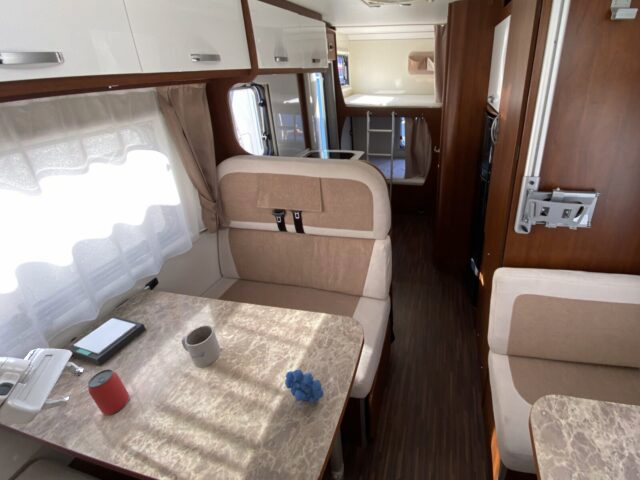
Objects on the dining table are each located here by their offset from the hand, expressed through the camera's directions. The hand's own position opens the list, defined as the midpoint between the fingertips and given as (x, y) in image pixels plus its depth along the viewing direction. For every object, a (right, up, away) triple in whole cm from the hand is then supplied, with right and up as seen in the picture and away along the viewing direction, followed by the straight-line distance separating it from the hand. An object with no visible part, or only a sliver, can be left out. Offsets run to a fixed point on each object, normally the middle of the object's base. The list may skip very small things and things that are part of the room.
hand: (75, 386), depth 85 cm
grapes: (+64, -8, +5) cm, 65 cm away
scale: (-17, -2, +29) cm, 33 cm away
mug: (+23, -3, +22) cm, 32 cm away
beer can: (+6, -10, +7) cm, 13 cm away
